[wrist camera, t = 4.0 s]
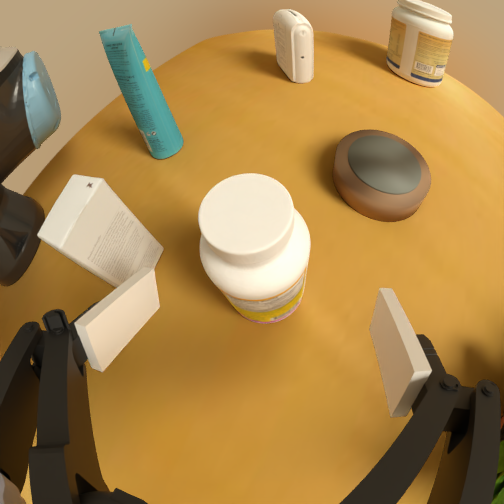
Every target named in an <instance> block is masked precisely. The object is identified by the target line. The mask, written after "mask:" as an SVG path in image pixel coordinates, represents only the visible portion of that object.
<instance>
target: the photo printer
mask: <svg viewBox="0 0 504 504" xmlns="http://www.w3.org/2000/svg"><path fill="white" fill-rule="evenodd" d="M273 26H274V36H275V46H276V57H277V62H278V64H279V66H280V67H281V69H282V70H283V71H284V72H285V74H286V75H287V76H288V77H289V79H290V80H291V81H293V82H296V83H307V82H310V81H311V80H312V79H313V66H314V45H313V29H312V27H311V25H310V23H309V22H308V21H307V20H306V18H304V17H303V16H302V15H301V14H299V13H298V12H296V11H294V10H290V9H286V10H279V11H277V12H276V13H275V14H274V16H273Z"/></svg>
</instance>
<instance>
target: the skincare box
mask: <svg viewBox="0 0 504 504" xmlns="http://www.w3.org/2000/svg"><path fill="white" fill-rule="evenodd" d="M37 236H38V237H39V238H40V239H41V240H43V241H44V242H46V243H47V244H49V245H50V246H51V247H53V248H54V249H56V250H57V251H59V252H60V253H62V254H63V255H65V256H66V257H68V258H69V259H71V260H72V261H74V262H75V263H77V264H78V265H80V266H82V267H83V268H85V269H86V270H88V271H89V272H91V273H93V274H94V275H96V276H97V277H99V278H101V279H102V280H104V281H106V282H107V283H109V284H111V285H112V286H114V287H116V288H117V287H119V286H120V285H121V284H123V283H124V282H125V281H126V280H128V279H129V278H130V277H132V276H133V275H134V274H135V273H137V272H138V271H139V270H141V269H142V268H143V267H147V268H155V266H156V264H157V262H158V260H159V258H160V256H161V254H162V252H163V250H164V248H163V246H162V245H161V244H160V243H159V242H158V241H157V240H156V239H155V238H154V237H153V236H152V234H151V233H150V232H149V231H148V230H147V229H146V228H145V227H144V226H143V225H142V223H141V222H140V221H139V220H138V219H137V218H136V217H135V215H134V214H133V213H132V212H131V211H130V210H129V209H128V208H127V206H126V205H125V204H124V203H123V202H122V201H121V200H120V198H119V197H118V196H117V195H116V194H115V193H114V191H113V190H112V189H111V188H110V187H109V185H108V184H107V183H106V182H105V180H104V179H103V178H95V177H88V176H82V175H72V177H71V179H70V180H69V182H68V183H67V185H66V186H65V188H64V190H63V191H62V193H61V194H60V196H59V198H58V199H57V201H56V202H55V204H54V206H53V207H52V209H51V211H50V213H49V214H48V216H47V218H46V220H45V221H44V223H43V225H42V227H41V229H40V231H39V232H38V234H37Z"/></svg>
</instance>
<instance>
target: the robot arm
mask: <svg viewBox="0 0 504 504" xmlns="http://www.w3.org/2000/svg"><path fill="white" fill-rule="evenodd" d="M60 120H61V112H60V107H59V103H58V100H57V97H56V94H55V91H54V88H53V85H52V82H51V80H50V77H49V75H48V73H47V70H46V68H45V66H44V63H43V62H42V60H41V58H40V57H39V55H38V53H37V52H35V51H32V52H30V53H26V54H25V55H24V57H23V56H22V55H21V54H20V52H19V50H18V49H17V48H16V47H5V48H2V47H0V284H1V285H3V286H9V285H11V284H13V283H15V282H16V281H17V280H18V279H19V278H20V277H21V276H22V275H23V273H24V272H25V270H26V269H27V267H28V266H29V264H30V262H31V261H32V259H33V257H34V255H35V253H36V250H37V248H38V245H39V243H40V240H41V239H40V238H39V237H38V236H37V234H38V232H39V231H40V229H41V227H42V225H43V223H44V211H43V208H42V207H41V206H40V205H39V204H38V203H37V202H36V201H35V200H34V199H32V198H30V197H27V196H23V195H21V194H18V193H16V192H14V191H11V190H9V189H7V188H5V187H4V186H3V185H2V184H1V183H2V182H3V181H4V180H5V179H6V178H7V177H8V175H9V174H10V173H12V172H13V170H14V169H15V168H16V167H17V166H18V165H19V164H20V163H22V161H24V159H26V158H27V157H28V156H29V155H30V154H31V153H32V152H33V151H34V150H35V149H38V148H40V146H41V144H42V143H43V142H44V141H45V140H46V139H47V138H48V137H49V136H51V135H52V134H53V133H54V132H55V131H56V129H57V128H58V127H59V124H60ZM159 308H160V304H159V298H158V292H157V285H156V279H155V271H154V268H147V267H143V268H142V269H141V270H139V271H138V272H137V273H135V274H134V275H133V276H132V277H130V278H129V279H128V280H126V281H125V282H124V283H123V284H121V285H120V286H119V287H117V288H116V289H115V290H114V291H112V292H111V293H110V294H109V295H107V296H106V297H105V298H104V299H102V300H101V301H99V302H97V303H95V304H93V305H92V306H90V307H89V308H88V310H86V311H84V312H83V313H82V314H81V315H79V316H78V317H77V318H76V319H75V320H73V321H72V322H71V323H70V324H68V321H67V318H66V315H65V312H64V311H63V310H60V309H56V310H51V311H49V312H47V313H46V314H45V315H43V317H42V320H43V323H44V325H45V328H46V330H47V331H42V330H41V328H40V326H39V323H37V322H27V323H25V324H24V325H23V326H22V327H21V328H20V330H19V331H18V333H17V334H16V336H15V337H14V339H13V341H12V342H11V344H10V346H9V347H8V349H7V351H6V352H5V354H4V356H3V358H2V359H1V361H0V504H26V502H25V500H24V499H23V498H22V497H21V496H20V494H21V491H22V489H23V486H24V483H25V479H26V474H27V469H28V464H29V475H30V486H31V495H32V502H33V504H148V503H146V502H145V501H143V500H142V499H139V498H137V497H135V496H132V495H130V494H128V493H126V492H124V491H122V490H119V489H117V488H116V489H115V490H114V492H110V491H109V489H108V487H107V485H106V484H105V482H104V480H103V478H102V475H101V471H100V467H99V462H98V458H97V453H96V448H95V442H94V437H93V431H92V424H91V417H90V409H89V400H88V389H87V375H86V367H85V364H84V363H85V361H86V360H87V359H88V361H89V363H90V365H91V368H93V369H96V370H98V371H101V372H103V371H104V370H105V369H106V368H107V367H108V365H109V364H110V363H111V362H112V361H113V360H114V358H115V357H116V356H117V355H118V354H119V353H120V352H121V350H122V349H123V348H124V347H125V346H126V345H127V343H128V342H129V341H130V340H131V339H132V338H133V337H134V336H135V334H136V333H137V332H138V331H139V330H140V329H141V328H142V327H143V325H144V324H145V323H146V322H147V321H148V320H149V319H150V318H151V316H152V315H153V314H154V313H155V312H156V311H157V310H158V309H159ZM369 330H370V333H371V337H372V340H373V344H374V348H375V352H376V356H377V359H378V363H379V367H380V372H381V376H382V380H383V384H384V389H385V394H386V398H387V403H388V408H389V413H390V417H401V416H407V414H408V412H409V411H410V409H411V407H412V411H413V416H412V418H411V419H410V421H409V422H408V424H407V425H406V426H405V428H404V429H403V431H402V432H401V434H400V435H399V436H398V438H397V439H396V440H395V442H394V443H393V444H392V446H391V447H390V448H389V450H388V451H387V452H386V453H385V455H384V456H383V457H382V458H381V460H380V461H379V462H378V463H377V464H376V466H375V467H374V468H373V469H372V470H371V471H370V472H369V474H368V475H367V476H366V477H365V478H364V479H363V480H362V481H361V482H360V483H359V485H358V486H357V487H356V488H355V489H354V490H353V491H352V492H351V493H350V494H349V495H348V496H347V497H346V498H345V499H344V500H343V501H342V502H341V503H340V504H396V503H397V502H398V501H399V500H400V498H401V497H402V496H403V494H404V493H405V492H406V490H407V489H408V487H409V486H410V485H411V483H412V482H413V480H414V479H415V477H416V476H417V474H418V473H419V471H420V470H421V468H422V466H423V465H424V463H425V462H426V460H427V458H428V457H429V455H430V453H431V451H432V450H433V448H434V446H435V444H436V443H437V441H438V439H439V437H440V435H441V433H442V431H446V432H447V436H446V441H445V445H444V450H443V454H442V458H441V462H440V465H439V469H438V472H437V476H436V479H435V482H434V485H433V488H432V491H431V494H430V497H429V500H428V502H427V504H491V503H492V499H493V494H494V489H495V483H496V477H497V469H498V461H499V450H500V431H501V408H500V392H499V388H498V387H497V385H496V384H495V383H493V382H492V381H489V380H481V381H479V382H478V384H477V385H476V387H475V388H470V387H463V386H461V384H460V382H459V381H458V379H457V378H456V377H454V376H452V375H449V374H446V372H445V369H444V367H443V365H442V363H441V361H440V359H439V357H438V355H437V353H436V351H435V349H434V347H433V345H432V343H431V341H430V340H429V339H428V338H427V337H426V336H425V335H424V334H421V335H416V334H415V332H414V330H413V328H412V326H411V324H410V322H409V320H408V318H407V316H406V314H405V312H404V310H403V308H402V306H401V304H400V303H399V301H398V299H397V297H396V295H395V293H394V291H393V290H392V288H379V292H378V296H377V301H376V305H375V309H374V313H373V317H372V321H371V325H370V328H369ZM31 358H32V360H33V362H34V363H33V365H31V364H30V359H31ZM36 428H37V446H36V447H32V444H33V440H34V436H35V432H36Z"/></svg>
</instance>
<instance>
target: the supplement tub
mask: <svg viewBox="0 0 504 504" xmlns="http://www.w3.org/2000/svg"><path fill="white" fill-rule="evenodd" d="M397 3H398V4H399V7H396V8H394V9H393V12H392V20H391V30H390V38H389V45H388V53H387V58H386V59H387V64H388V66H389V68H390V69H391V70H392V71H393V72H395V73H396V74H397V75H399V76H401V77H402V78H404V79H406V80H408V81H410V82H413V83H415V84H418V85H422V86H426V87H436V86H438V85H440V83H441V81H442V78H443V75H444V71H445V68H446V64H447V60H448V56H449V52H450V48H451V44H452V39H453V30H452V28H451V27H450V26H449V24H450V23H452V21H451V19H452V15H451V14H449V13H448V12H446V11H444V10H442V9H440V8H438V7H436V6H433V5H431V4H428V3H426V2H423V1H420V0H398V2H397Z"/></svg>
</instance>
